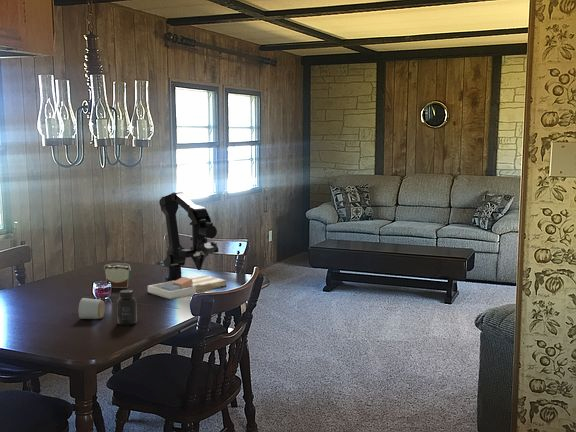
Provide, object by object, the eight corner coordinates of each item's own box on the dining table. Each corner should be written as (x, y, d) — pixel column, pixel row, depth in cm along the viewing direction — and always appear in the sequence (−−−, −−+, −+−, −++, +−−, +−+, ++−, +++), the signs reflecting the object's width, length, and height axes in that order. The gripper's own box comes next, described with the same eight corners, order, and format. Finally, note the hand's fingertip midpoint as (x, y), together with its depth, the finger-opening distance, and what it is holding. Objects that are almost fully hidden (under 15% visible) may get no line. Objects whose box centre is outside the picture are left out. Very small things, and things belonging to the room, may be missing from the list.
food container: (135, 284, 294) (134, 263, 292) (130, 288, 288) (130, 266, 286) (109, 284, 295) (108, 262, 294) (104, 287, 289) (103, 265, 288)
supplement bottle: (140, 321, 237) (140, 290, 236) (129, 326, 231) (128, 294, 230) (125, 319, 240) (125, 288, 239) (113, 324, 234) (112, 292, 233)
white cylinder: (100, 321, 238) (99, 301, 237) (78, 321, 238) (77, 300, 237) (108, 313, 248) (108, 294, 247) (87, 313, 248) (87, 294, 247)
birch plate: (175, 287, 289) (175, 281, 289) (206, 280, 302) (206, 275, 302) (195, 292, 280) (194, 287, 280) (226, 285, 293) (226, 280, 293)
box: (147, 292, 280) (147, 285, 279) (173, 287, 290) (173, 280, 289) (169, 299, 269) (169, 292, 269) (195, 293, 279) (195, 286, 279)
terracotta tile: (173, 287, 283) (172, 282, 282) (184, 281, 287) (183, 276, 286) (182, 289, 279) (181, 284, 278) (192, 284, 283) (191, 278, 282)
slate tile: (161, 291, 279) (161, 286, 279) (172, 289, 284) (172, 283, 283) (169, 294, 275) (169, 288, 275) (180, 291, 280) (180, 286, 279)
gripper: (193, 240, 275) (194, 276, 277) (226, 235, 288) (226, 269, 290) (177, 237, 282) (178, 272, 285) (210, 232, 296) (210, 265, 298)
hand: (199, 269), depth 289 cm, fingers closed
